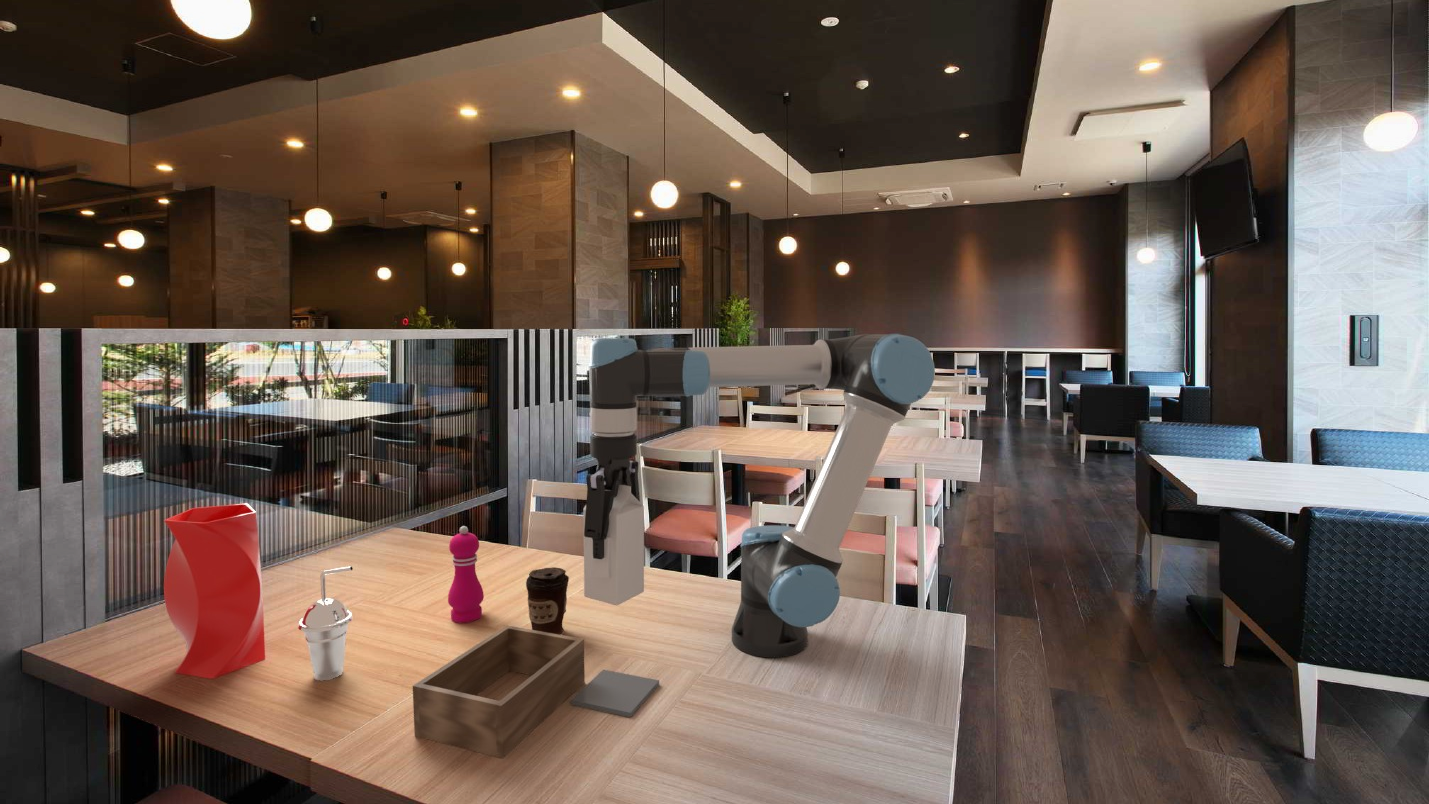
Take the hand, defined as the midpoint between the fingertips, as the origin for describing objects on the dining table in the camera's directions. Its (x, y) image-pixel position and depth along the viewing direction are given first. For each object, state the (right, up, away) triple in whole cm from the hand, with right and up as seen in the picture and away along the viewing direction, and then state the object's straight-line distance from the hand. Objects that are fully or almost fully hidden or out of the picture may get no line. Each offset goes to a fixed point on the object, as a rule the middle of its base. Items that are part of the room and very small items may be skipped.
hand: (614, 568), depth 116 cm
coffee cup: (-17, -20, +25) cm, 37 cm away
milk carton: (0, -5, 0) cm, 5 cm away
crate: (-18, -22, -2) cm, 29 cm away
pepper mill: (-37, -19, +33) cm, 53 cm away
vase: (-74, -21, +14) cm, 79 cm away
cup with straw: (-52, -21, +8) cm, 57 cm away
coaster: (0, -22, +2) cm, 22 cm away
